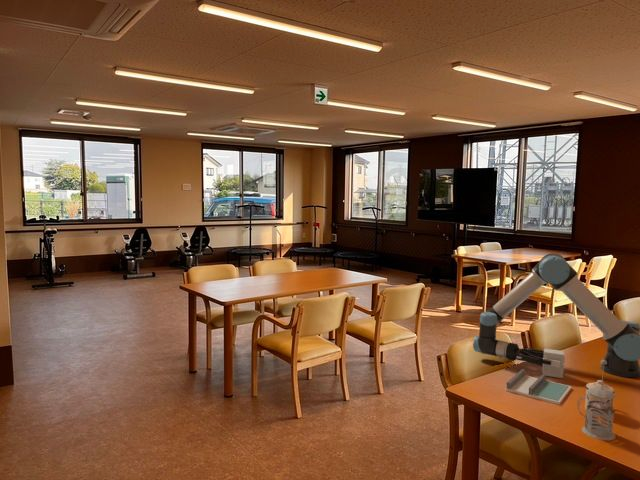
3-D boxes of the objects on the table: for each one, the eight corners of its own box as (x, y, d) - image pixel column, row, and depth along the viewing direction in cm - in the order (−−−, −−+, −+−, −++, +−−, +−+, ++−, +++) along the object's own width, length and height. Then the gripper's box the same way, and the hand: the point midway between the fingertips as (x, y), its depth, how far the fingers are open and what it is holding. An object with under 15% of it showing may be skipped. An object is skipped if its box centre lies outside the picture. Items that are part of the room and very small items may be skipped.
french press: (619, 442, 155) (625, 366, 152) (579, 436, 158) (584, 362, 156) (610, 428, 164) (616, 356, 162) (573, 423, 167) (578, 352, 165)
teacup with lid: (608, 419, 170) (610, 387, 169) (580, 411, 177) (582, 380, 176) (618, 409, 179) (620, 379, 177) (591, 401, 185) (593, 372, 184)
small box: (562, 374, 212) (564, 350, 211) (562, 378, 207) (564, 354, 206) (542, 371, 215) (543, 348, 214) (542, 375, 210) (543, 351, 209)
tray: (571, 388, 197) (571, 380, 197) (559, 404, 182) (559, 395, 181) (521, 376, 209) (522, 368, 209) (506, 390, 194) (506, 382, 194)
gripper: (514, 353, 231) (567, 364, 216) (499, 364, 215) (555, 377, 201) (515, 337, 230) (568, 348, 215) (500, 347, 214) (556, 359, 200)
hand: (562, 362), depth 208 cm, fingers closed on small box, 7 cm apart
